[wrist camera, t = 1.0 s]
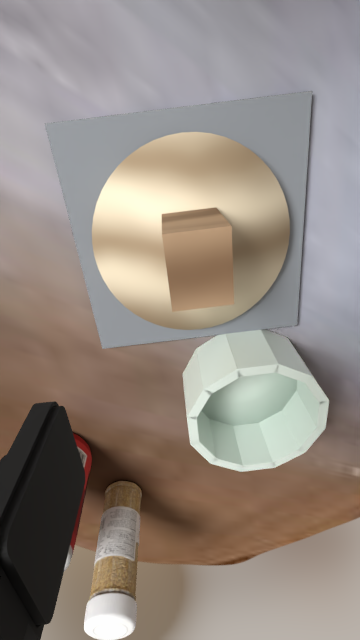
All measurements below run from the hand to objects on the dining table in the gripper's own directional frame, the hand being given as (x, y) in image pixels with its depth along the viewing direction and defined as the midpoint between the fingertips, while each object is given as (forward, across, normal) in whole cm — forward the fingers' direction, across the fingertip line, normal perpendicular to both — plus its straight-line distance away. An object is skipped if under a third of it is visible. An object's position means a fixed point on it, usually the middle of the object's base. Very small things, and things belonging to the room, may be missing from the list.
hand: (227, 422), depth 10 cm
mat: (+20, 0, -1) cm, 20 cm away
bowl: (+20, -4, +14) cm, 25 cm away
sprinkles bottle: (+21, +10, +29) cm, 37 cm away
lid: (+19, 0, -1) cm, 19 cm away
